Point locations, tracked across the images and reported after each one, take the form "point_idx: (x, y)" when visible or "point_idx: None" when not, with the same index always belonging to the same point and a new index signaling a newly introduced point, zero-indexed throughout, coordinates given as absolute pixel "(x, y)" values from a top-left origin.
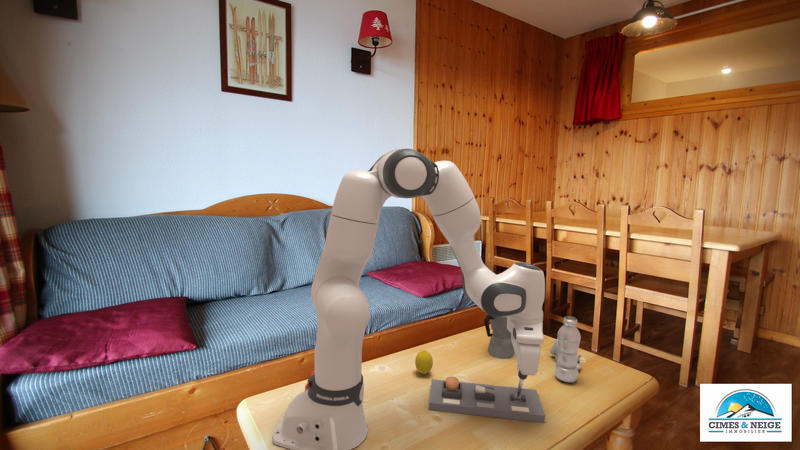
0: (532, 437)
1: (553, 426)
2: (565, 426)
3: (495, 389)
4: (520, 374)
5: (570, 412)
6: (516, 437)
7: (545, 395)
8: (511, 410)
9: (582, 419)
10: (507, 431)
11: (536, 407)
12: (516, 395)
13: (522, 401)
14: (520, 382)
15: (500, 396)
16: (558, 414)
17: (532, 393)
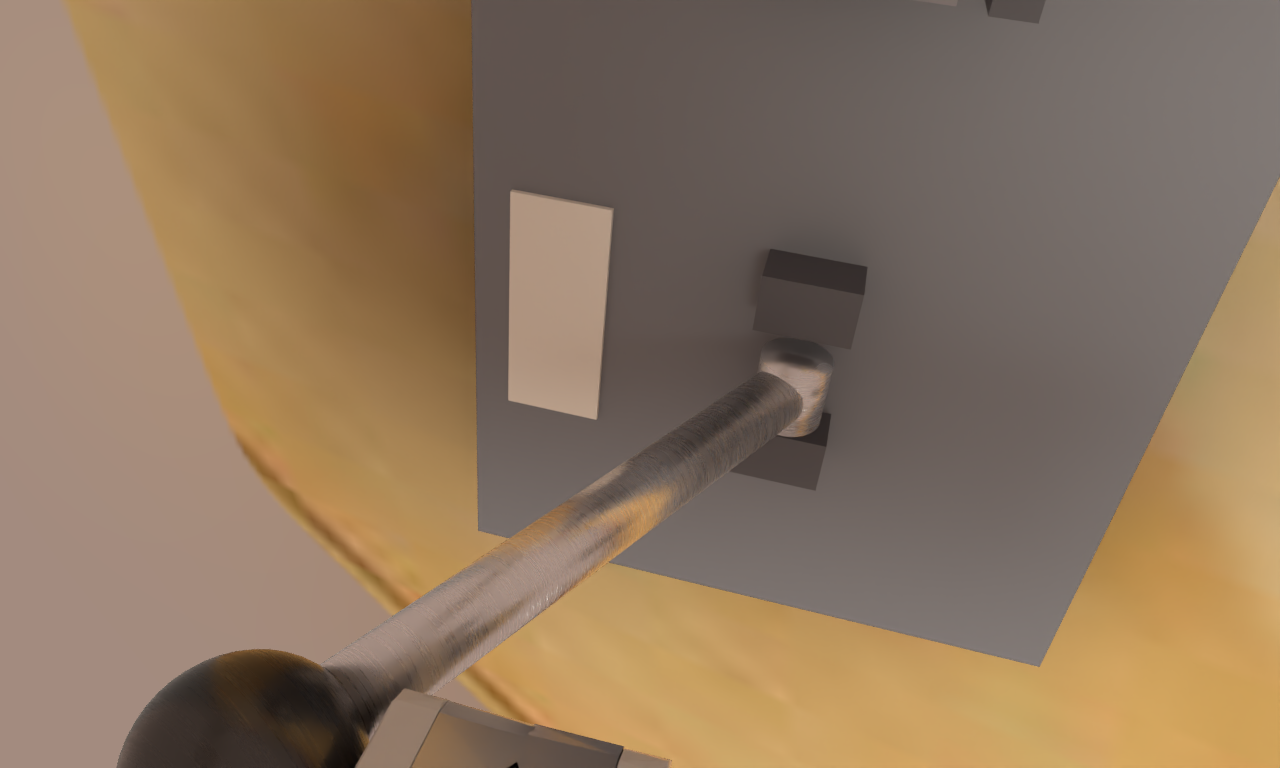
0: (244, 268)
1: (470, 523)
2: None
3: (1150, 74)
4: (131, 743)
5: (710, 740)
6: (184, 91)
7: (1033, 690)
8: (510, 180)
9: None
10: (254, 6)
11: None
12: (764, 374)
13: None
14: (441, 584)
15: (889, 111)
16: (669, 642)
17: (946, 591)
